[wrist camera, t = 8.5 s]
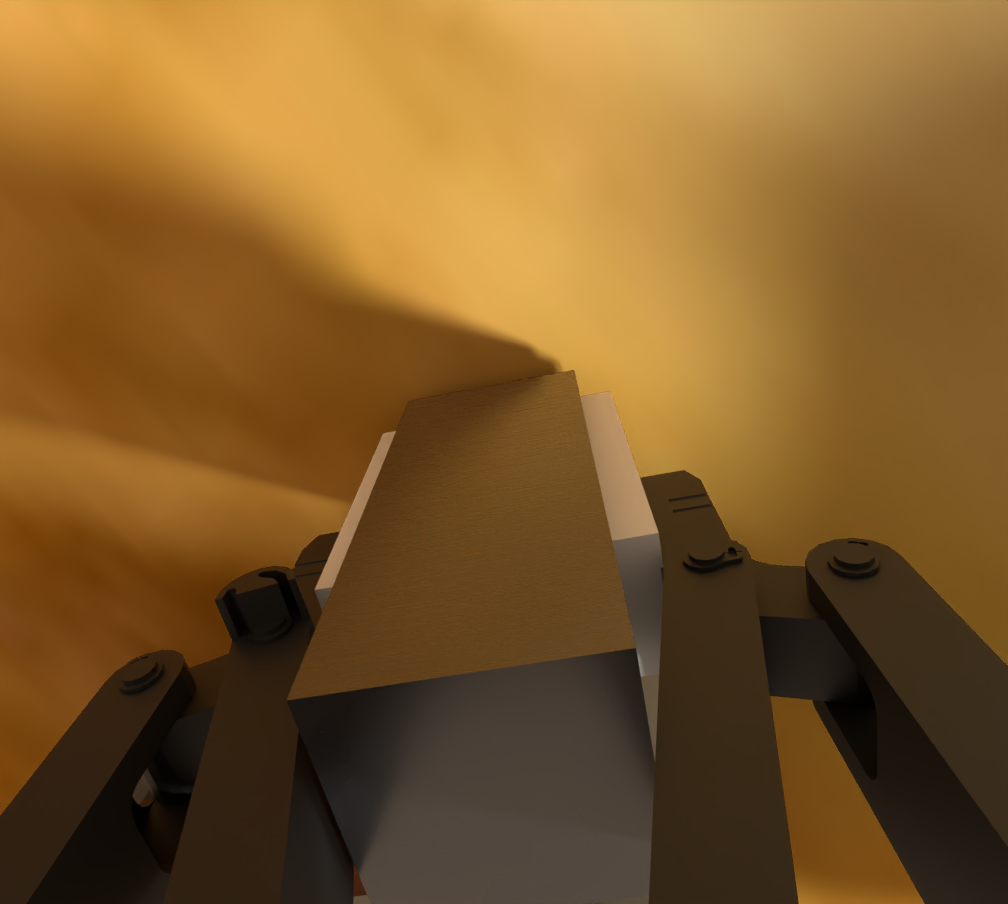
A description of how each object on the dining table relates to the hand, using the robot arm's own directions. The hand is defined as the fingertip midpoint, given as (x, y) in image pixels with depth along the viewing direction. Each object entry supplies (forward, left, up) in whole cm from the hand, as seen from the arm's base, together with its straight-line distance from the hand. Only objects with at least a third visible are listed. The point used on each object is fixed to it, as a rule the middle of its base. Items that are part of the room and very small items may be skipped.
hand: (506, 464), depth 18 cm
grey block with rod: (+2, +7, 0) cm, 7 cm away
